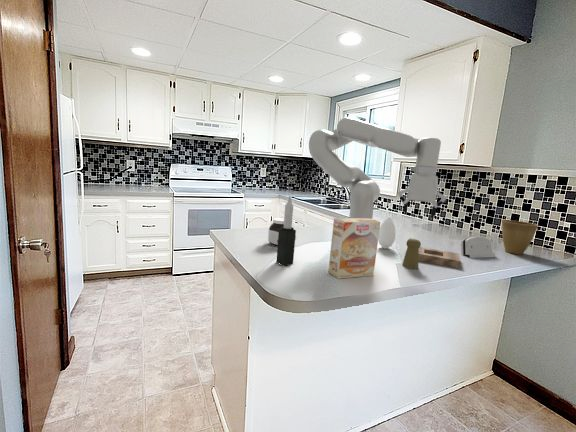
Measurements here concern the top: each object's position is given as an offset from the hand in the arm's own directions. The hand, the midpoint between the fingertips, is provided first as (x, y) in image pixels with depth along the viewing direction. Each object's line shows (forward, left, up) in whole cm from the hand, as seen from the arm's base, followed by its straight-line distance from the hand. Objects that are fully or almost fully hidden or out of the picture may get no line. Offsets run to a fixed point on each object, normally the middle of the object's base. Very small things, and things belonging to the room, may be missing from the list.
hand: (418, 215), depth 123 cm
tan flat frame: (+8, +17, -20) cm, 28 cm away
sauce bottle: (-13, +22, -21) cm, 33 cm away
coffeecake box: (-18, -25, -21) cm, 37 cm away
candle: (-42, -29, -21) cm, 55 cm away
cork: (0, -1, -21) cm, 21 cm away
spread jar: (-55, -5, -21) cm, 59 cm away
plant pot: (+46, +62, -21) cm, 80 cm away
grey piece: (+27, +41, -21) cm, 53 cm away
